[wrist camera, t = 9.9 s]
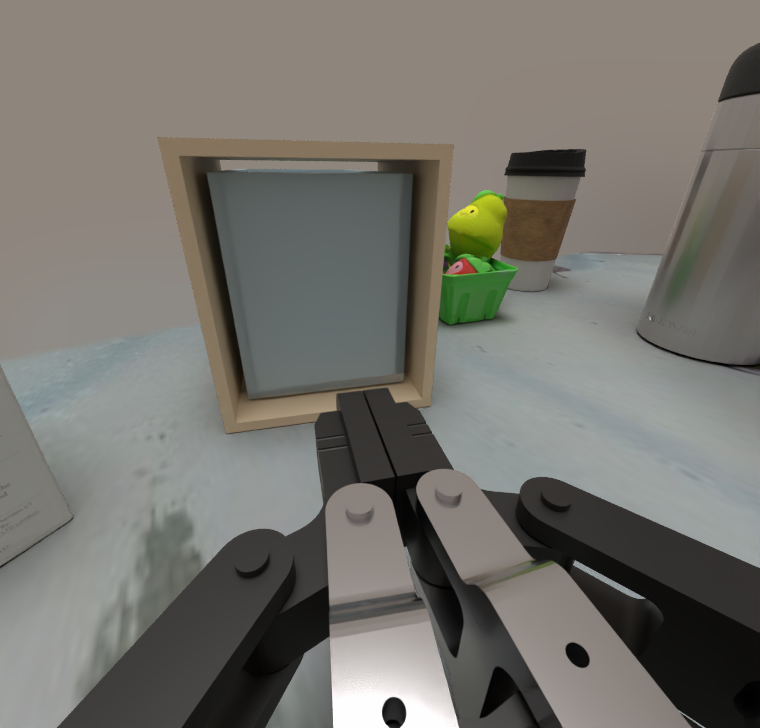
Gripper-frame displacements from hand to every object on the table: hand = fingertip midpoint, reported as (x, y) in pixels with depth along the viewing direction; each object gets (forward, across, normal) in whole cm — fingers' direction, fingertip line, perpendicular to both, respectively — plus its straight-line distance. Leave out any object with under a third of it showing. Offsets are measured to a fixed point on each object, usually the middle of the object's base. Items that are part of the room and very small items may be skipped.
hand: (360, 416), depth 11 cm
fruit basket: (+26, -15, +7) cm, 31 cm away
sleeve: (+15, 0, +6) cm, 16 cm away
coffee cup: (+32, -27, +6) cm, 42 cm away
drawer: (+20, 0, +6) cm, 21 cm away
